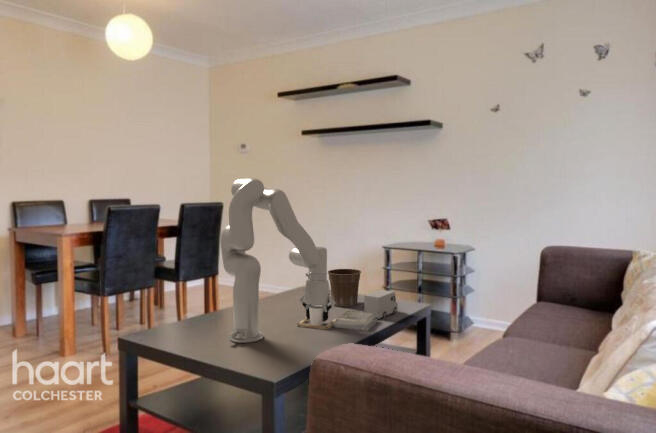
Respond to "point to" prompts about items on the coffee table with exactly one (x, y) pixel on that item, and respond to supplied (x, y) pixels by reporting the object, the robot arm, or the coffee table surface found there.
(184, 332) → the coffee table surface
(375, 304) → the toy vehicle
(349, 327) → the plate
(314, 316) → the white cup
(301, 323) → the cradle
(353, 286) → the plant pot
